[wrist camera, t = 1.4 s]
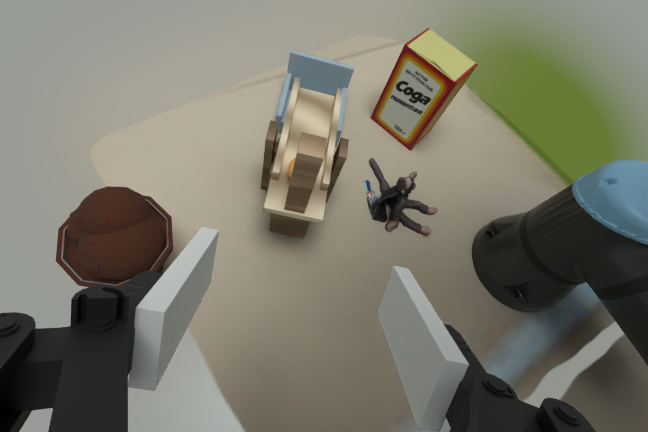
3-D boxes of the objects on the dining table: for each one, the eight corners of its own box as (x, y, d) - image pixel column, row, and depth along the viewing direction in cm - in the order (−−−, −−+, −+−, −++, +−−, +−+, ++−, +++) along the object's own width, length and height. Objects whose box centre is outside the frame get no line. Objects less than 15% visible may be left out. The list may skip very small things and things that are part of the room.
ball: (311, 165, 44) (316, 148, 41) (317, 189, 43) (323, 173, 40) (284, 167, 43) (287, 150, 40) (288, 191, 42) (292, 176, 39)
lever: (321, 223, 42) (348, 167, 31) (263, 211, 41) (270, 149, 31) (339, 102, 51) (364, 28, 41) (292, 90, 51) (305, 11, 40)
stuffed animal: (420, 251, 53) (382, 191, 48) (373, 248, 61) (336, 196, 56) (450, 199, 59) (419, 141, 54) (403, 202, 66) (372, 152, 61)
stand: (320, 241, 51) (341, 202, 41) (251, 227, 50) (254, 183, 40) (329, 179, 57) (349, 130, 46) (266, 165, 55) (273, 111, 45)
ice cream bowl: (78, 249, 44) (9, 188, 31) (168, 215, 48) (141, 149, 35) (105, 326, 41) (42, 294, 28) (199, 282, 45) (182, 237, 32)
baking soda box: (370, 117, 65) (406, 41, 51) (390, 101, 68) (429, 25, 54) (410, 150, 63) (458, 81, 49) (428, 132, 66) (479, 62, 52)
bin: (335, 146, 60) (348, 113, 53) (274, 131, 58) (278, 96, 52) (341, 101, 65) (354, 66, 58) (285, 87, 63) (291, 49, 56)
